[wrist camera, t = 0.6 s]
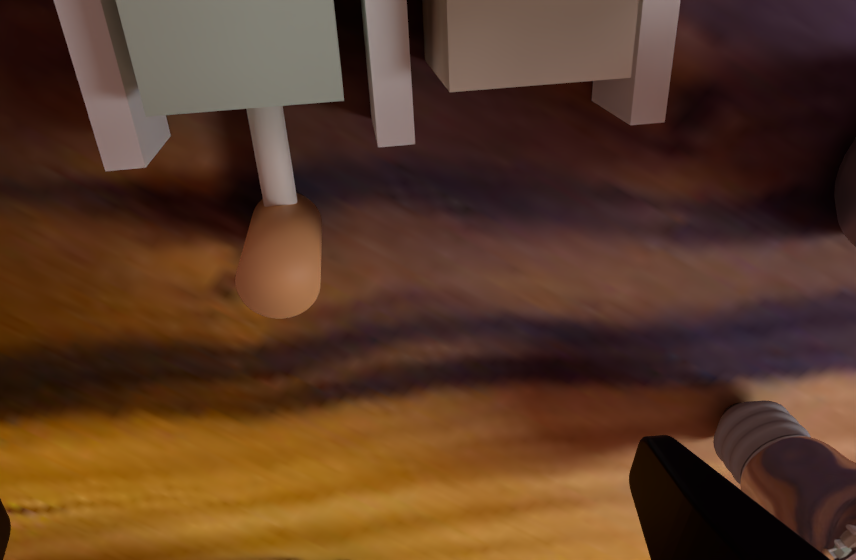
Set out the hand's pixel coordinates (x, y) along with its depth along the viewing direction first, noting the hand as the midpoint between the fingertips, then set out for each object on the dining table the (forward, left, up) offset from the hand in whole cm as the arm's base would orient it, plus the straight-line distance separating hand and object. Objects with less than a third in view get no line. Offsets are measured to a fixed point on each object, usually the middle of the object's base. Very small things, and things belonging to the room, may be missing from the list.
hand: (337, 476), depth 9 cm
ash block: (+5, -5, -13) cm, 15 cm away
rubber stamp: (+2, +2, -13) cm, 13 cm away
